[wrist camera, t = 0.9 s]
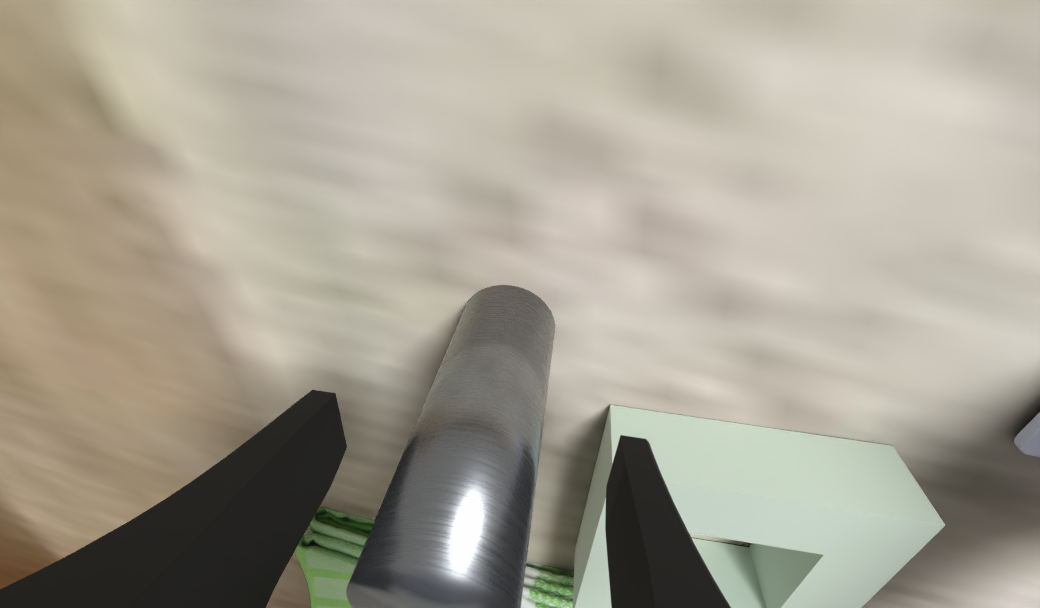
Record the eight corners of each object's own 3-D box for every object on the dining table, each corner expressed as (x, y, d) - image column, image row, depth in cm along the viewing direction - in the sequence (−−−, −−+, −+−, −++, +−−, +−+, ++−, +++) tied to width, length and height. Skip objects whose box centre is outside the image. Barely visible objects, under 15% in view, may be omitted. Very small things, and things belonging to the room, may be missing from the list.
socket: (893, 446, 17) (945, 525, 14) (785, 584, 22) (809, 659, 20) (610, 404, 17) (612, 473, 15) (574, 548, 23) (572, 616, 20)
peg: (560, 292, 15) (524, 585, 7) (549, 366, 17) (512, 664, 9) (461, 279, 15) (333, 552, 8) (462, 354, 17) (357, 635, 10)
